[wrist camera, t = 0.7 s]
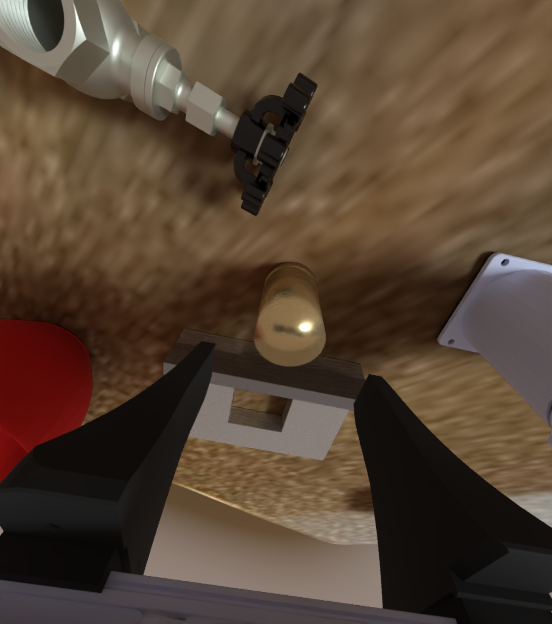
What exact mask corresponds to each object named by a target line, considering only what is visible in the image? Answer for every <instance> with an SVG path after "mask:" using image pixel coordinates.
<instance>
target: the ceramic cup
mask: <svg viewBox="0 0 552 624" xmlns="http://www.w3.org/2000/svg"><path fill="white" fill-rule="evenodd" d="M92 388H93V378H92V370H91V365H90V357H89V354H88V351H87V350H86V348H85V346H84V345H83V344H82V343H81V341H80V340H79V339H77V338H76V337H75V336H74V335H73V334H71V333H70V332H68V331H67V330H65V329H63V328H61V327H59V326H56V325H54V324H50V323H46V322H34V321H27V320H15V319H0V483H1V481H2V480H3V479H4V478H5V477H6V476H7V475H8V474H9V472H10V471H11V470H12V469H13V468H14V467H15V466H16V465H17V464H18V462H19V461H20V460H21V459H22V458H23V457H24V456H26V455H27V454H28V453H29V452H30V451H31V450H32V449H33V448H34V447H35V446H37V445H39V444H42V443H44V442H46V441H49V440H51V439H53V438H56V437H58V436H60V435H63V434H65V433H68V432H70V431H72V430H74V429H76V428H79V427H80V426H81V424H82V422H83V420H84V418H85V416H86V413H87V411H88V408H89V405H90V400H91V395H92Z"/></svg>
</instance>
